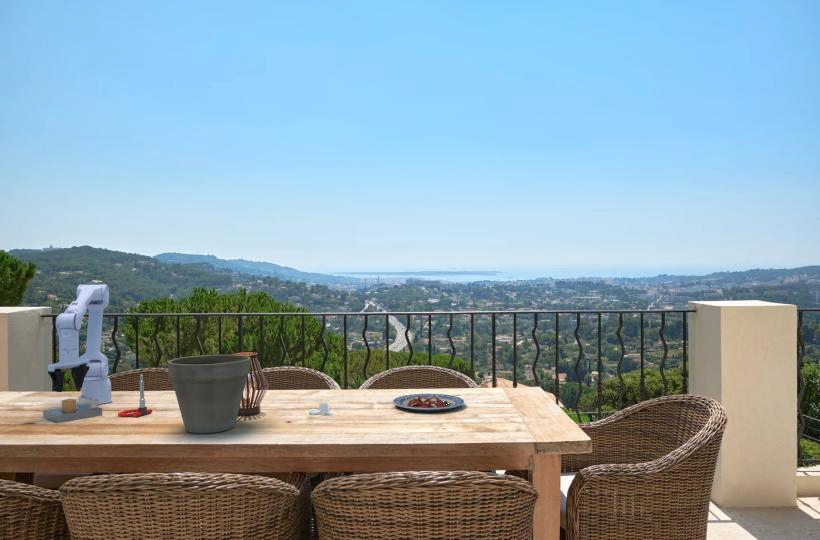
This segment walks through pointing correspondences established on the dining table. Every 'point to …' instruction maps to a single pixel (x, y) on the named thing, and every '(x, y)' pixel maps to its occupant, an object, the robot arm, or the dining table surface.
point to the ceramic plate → (428, 402)
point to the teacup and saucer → (321, 410)
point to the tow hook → (142, 409)
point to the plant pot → (209, 390)
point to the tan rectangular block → (68, 405)
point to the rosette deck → (83, 410)
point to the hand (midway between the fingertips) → (69, 389)
